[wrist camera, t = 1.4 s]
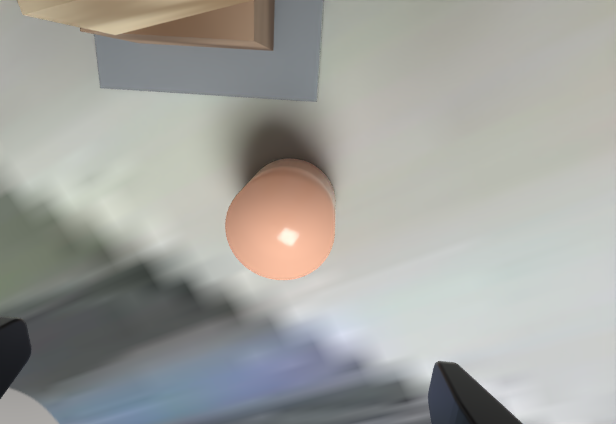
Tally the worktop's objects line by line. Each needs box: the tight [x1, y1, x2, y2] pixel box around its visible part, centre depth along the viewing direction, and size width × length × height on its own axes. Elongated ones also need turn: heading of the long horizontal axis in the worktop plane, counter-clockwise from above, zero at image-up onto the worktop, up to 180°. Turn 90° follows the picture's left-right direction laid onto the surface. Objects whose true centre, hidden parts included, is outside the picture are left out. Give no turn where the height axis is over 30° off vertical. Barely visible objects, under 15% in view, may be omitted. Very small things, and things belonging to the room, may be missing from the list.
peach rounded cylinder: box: [225, 158, 336, 280], centre depth 17 cm, size 4×4×4 cm
